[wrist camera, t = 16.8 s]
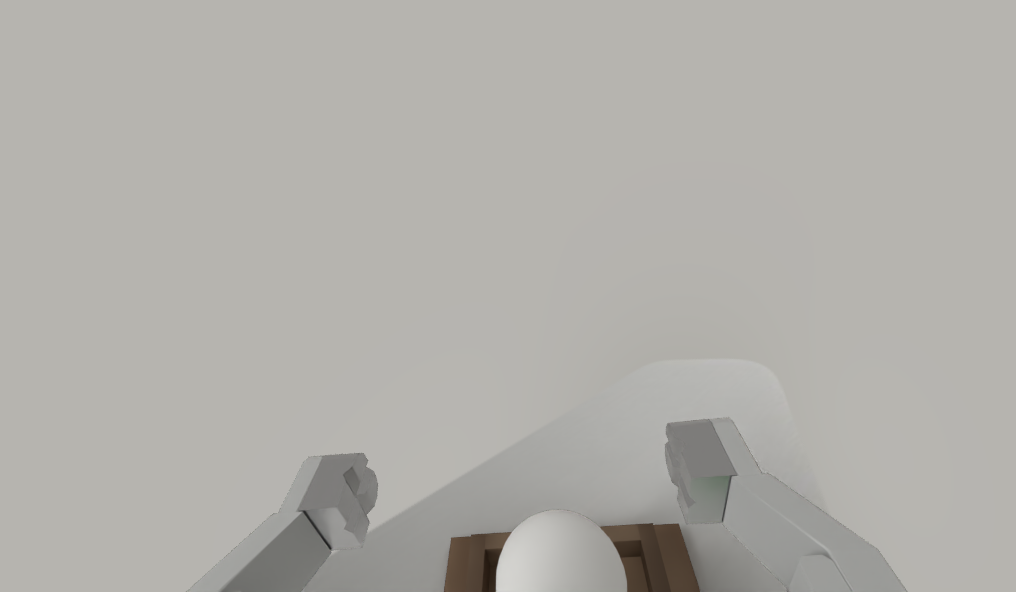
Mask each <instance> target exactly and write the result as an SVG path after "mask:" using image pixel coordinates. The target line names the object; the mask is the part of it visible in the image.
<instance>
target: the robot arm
mask: <svg viewBox="0 0 1016 592" xmlns="http://www.w3.org/2000/svg"><path fill="white" fill-rule="evenodd" d="M666 435H667V438H668V442H667V443H666V444H665V457H666V464H667V468H668V472H669V475H670V478H671V481H672V483H674V484H675V485H676V486H677V487H678V501H679V504H680V507H681V510H682V513H683V516H684V518H685V521H686V524H703V523H723V525H724V526H725V527H726V528H727V529H728V530H729V531H730V532H731V533H732V534H733V535H734V536H735V537H736V538H737V539H738V540H739V541H740V542H741V543H742V544H743V545H744V546H745V547H746V548H747V549H748V550H749V551H750V552H751V553H752V554H753V555H754V556H755V557H756V558H757V559H758V560H759V561H760V562H761V563H762V564H763V565H764V566H765V567H766V568H767V569H768V570H769V571H770V572H771V573H772V574H773V575H774V576H775V577H776V578H777V579H778V580H779V581H780V582H781V583H782V584H783V585H784V586H785V587H786V588H787V589H788V592H907V590H906V589H905V587H904V586H903V585H902V583H901V582H900V580H899V579H898V577H897V576H896V575H895V573H894V572H893V570H892V569H891V567H890V566H889V565H888V563H887V562H886V560H885V559H884V558H883V556H882V554H881V553H880V551H879V550H878V549H877V548H875V547H874V546H872V545H871V544H869V543H868V542H866V541H865V540H864V539H862V538H861V537H859V536H858V535H856V534H855V533H854V532H852V531H851V530H849V529H848V528H846V527H845V526H844V525H842V524H841V523H839V522H838V521H836V520H835V519H834V518H832V517H831V516H829V515H828V514H826V513H825V512H824V511H822V510H821V509H819V508H818V507H816V506H815V505H813V504H812V503H811V502H809V501H808V500H806V499H805V498H803V497H802V496H801V495H799V494H798V493H796V492H795V491H793V490H792V489H791V488H789V487H788V486H786V485H785V484H783V483H782V482H781V481H779V480H778V479H776V478H775V477H773V476H772V475H770V474H769V473H767V474H762V472H761V470H760V469H759V467H758V465H757V463H756V461H755V460H754V458H753V456H752V454H751V453H750V451H749V449H748V447H747V445H746V444H745V442H744V440H743V438H742V437H741V435H740V433H739V431H738V429H737V428H736V426H735V424H734V422H733V421H732V420H731V419H730V418H729V417H728V418H717V419H708V420H707V419H703V420H693V421H684V422H675V423H668V424H667V426H666ZM367 462H368V460H367V458H366V456H365V455H364V453H354V454H339V455H325V456H313V457H308V458H307V459H306V460H305V461H304V462H303V464H302V466H301V468H300V470H299V472H298V474H297V476H296V478H295V480H294V482H293V484H292V486H291V488H290V490H289V492H288V494H287V496H286V498H285V500H284V502H283V504H282V507H281V508H280V510H279V512H278V513H276V514H272V515H271V516H270V517H269V518H268V519H267V520H265V521H264V522H263V523H262V524H261V525H260V526H259V527H258V528H257V529H255V531H253V532H252V533H251V534H250V535H249V536H248V537H247V538H245V539H244V540H243V541H242V542H241V543H240V544H239V545H238V546H237V547H235V548H234V550H232V551H231V552H230V553H229V554H228V555H226V557H224V558H223V559H222V560H221V561H220V562H219V563H218V564H216V565H215V566H214V567H213V568H212V569H211V570H210V571H209V572H208V573H207V574H205V575H204V576H203V577H202V578H201V579H200V580H199V581H198V582H197V583H195V584H194V585H193V586H192V587H191V588H190V589H189V590H188V591H186V592H301V591H302V589H303V588H304V587H305V586H306V584H307V583H308V582H309V581H310V579H311V578H312V577H313V575H314V574H315V573H316V572H317V570H318V569H319V568H320V567H321V565H322V564H323V563H324V562H325V560H326V559H327V558H328V556H329V555H330V554H331V551H332V550H342V549H352V548H362V546H363V542H364V539H365V536H366V533H367V529H368V526H369V520H368V518H367V514H368V513H369V512H370V510H371V509H372V508H373V507H374V506H375V502H376V499H377V491H378V483H377V478H376V475H375V473H374V471H373V470H371V469H369V468H367V467H366V465H367Z"/></svg>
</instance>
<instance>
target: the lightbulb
mask: <svg viewBox="0 0 1016 592" xmlns="http://www.w3.org/2000/svg"><path fill="white" fill-rule="evenodd" d="M496 592H627V579H626V575H625V570H624V566H623V564H622V561H621V559H620V556H619V554H618V551H617V549H616V548H615V546H614V544H613V543H612V541H611V540H610V538H609V537H608V536H607V535H606V534H605V533H604V532H603V530H602V529H601V528H600V527H599V526H598V525H597V524H595V523H594V522H593V521H591V520H590V519H589V518H587V517H585V516H583V515H581V514H579V513H575V512H572V511H568V510H559V509H558V510H547V511H543V512H540V513H537V514H535V515H533V516H531V517H529V518H527V519H526V520H524V521H523V522H522V523H520V524H519V525H518V526H517V527H516V528H515V529H514V531H513V532H512V533H511V534H510V536H509V537H508V539H507V541H506V542H505V545H504V547H503V550H502V552H501V555H500V557H499V561H498V566H497V571H496Z"/></svg>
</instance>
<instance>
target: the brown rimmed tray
mask: <svg viewBox="0 0 1016 592" xmlns="http://www.w3.org/2000/svg"><path fill="white" fill-rule="evenodd" d="M600 528H601V529H602V530H603V532H604V533H605V534H606V535H607V536H608V537H609V538H610V540H611V541H612V543H613V544H614V546H615V548H616V549H617V551H618V554H619V556H620V559H621V561H622V564H623V566H624V570H625V575H626V579H627V592H700V590H699V586H698V583H697V580H696V577H695V574H694V571H693V568H692V564H691V561H690V558H689V555H688V552H687V549H686V546H685V542H684V539H683V536H682V533H681V530H680V527H679V524H663V525H653V523H650V524H635V525H619V526H603V527H600ZM511 533H512V532H507V533H491V534H475V535H471V537H455V538H451V544H450V551H449V558H448V566H447V573H446V580H445V587H444V592H496V571H497V566H498V561H499V557H500V555H501V552H502V550H503V547H504V545H505V542H506V541H507V539H508V537H509V536H510V534H511Z"/></svg>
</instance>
